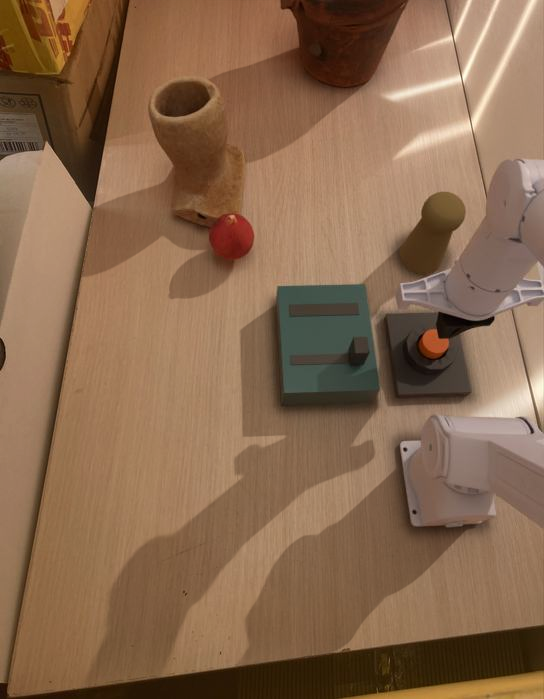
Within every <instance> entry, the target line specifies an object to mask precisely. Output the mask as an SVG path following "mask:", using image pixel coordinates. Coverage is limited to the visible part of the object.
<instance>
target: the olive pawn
mask: <svg viewBox="0 0 544 699" xmlns="http://www.w3.org/2000/svg"><path fill="white" fill-rule="evenodd" d="M466 213H467V211H466V204H465V203H464V202H463V200H462V199H461V197H459V195H457V194H455V193H453V192H451V191H439V192H438V191H437V192H435V193H433V194H431V195H429V196H428V198H427V199H426V200H424V202H423V205H422V208H421V213H420V216H421V218H419V221H418V222H417V224H415V226H414V228H413V229H412V230H411V231H410V233H409V235H408V236H407V237H406V239H405V241H404V242H403V243H402V244H401V246H400V249H399V259H400V260H401V263H402V264H403V266H405V268H406V269H408V270H409V271H411V272H412V273H415V274H418V275H430V274H434V273H435V272H436V271H439V269H440V268H441V267H442V265H443V263H444V259H445V256H446V254H447V251H448V247H449V245H450V241H451V238H452V235H453V233H454V232H455V231H457V230H458V229H459V228H460V227H461V225H462V224H463V222H465V217H466Z"/></svg>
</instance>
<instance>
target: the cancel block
mask: <svg viewBox="0 0 544 699" xmlns="http://www.w3.org/2000/svg"><path fill="white" fill-rule="evenodd" d="M437 318H438V312H407V313H406V312H404V313H386V314H385V315H384V317H383V321H384V327H385V333H386V340H387V341H386V342H387V347H388V353H389V360H390V367H391V374H392V380H393V387H394V394H395V398H396V399H404V398H405V399H407V398H431V397H433V398H434V397H435V398H437V397H463V396H464V397H465V396H466V397H467V396H470V394H472V387H471V383H470V377H469V372H468V367H467V363H466V359H465V354H464V349H463V345H462V340H461V335H460V334H459V335H457V336H455V337H453V338H450V339H448V340H449V346H448V348H447V350H446V351H445V352H444V353H443V355H442V356H441V357H439V358H436V359H430V358H427V357H425V356H424V355H423V354H422V353H421V352H420V350H419V347H418V344H419V341H420V339H421V337H422V336H423V335H424V333H425V332H426V331H428V330H431V329H437V328H436V322H437Z"/></svg>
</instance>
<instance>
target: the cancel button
mask: <svg viewBox="0 0 544 699" xmlns="http://www.w3.org/2000/svg"><path fill="white" fill-rule="evenodd" d="M448 346H449V340H448V339H439V338H438V333H437V329H431V330H428V331H426V332H425V333H424V335H423V336H422V337H421V339H420V341H419V344H418V347H419V350H420V352H421V353H422V354H423V355H424V356H425V357H427V358H430V359H436V358H439V357H441V356H442V355H443V353H444V352H445V351H446V350H447V348H448Z"/></svg>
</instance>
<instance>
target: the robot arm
mask: <svg viewBox="0 0 544 699" xmlns="http://www.w3.org/2000/svg"><path fill="white" fill-rule="evenodd" d="M453 263H454V265H453V267H451V268H448V269H445V270H443V271H442V270H441V272H437V273H433V274H431V275H429V276H426V277H423V278H420V279H417V280H414V281H410V282H400V283H399V284H398V286H397V288H396V291H395V300H396V306H397V310H400V311H401V310H402V311H403V310H408V309H409V308H410V306H412V305H413V306H416V307H417V306H419V307H422V308H424V309H429V310H432V311H436V312H437V313H438V318H437V322H436V328H437V333H438V338H439V339H450V338H453V337H455V336H457V335H460V334H463V333H464V332H467V331H469V330H473V329H475V328H481V327H490V326H491V325H492V324H493V323H494V322H495V318H496V316H497V315H500V314H503V313H505V312H508V311H510V310H513V309H516V308H518V307H521V306H523V305H527V306H528V307H538V306H539V305H541V303H542V302H543V301H544V283H543V280H542V279H529V278H525V277H526V276H527V275H528V274H529V272H530V271H531V270H532V269H533V267H535V266H536V265H537V264H538V263H539V264H540V265H541V266H542V267H543V268H544V159H537V158H515V159H510V158H509V159H505V160H502V162H500V163H499V165H497V168H496V169H495V171H494V173H493V175H492V177H491V180H490V183H489V186H488V190H487V194H486V202H485V216H484V218H483V219H482V220H481V222H480V223H479V225H478V227H477V229H476V230H475V231H474V233H473V235H472V236H471V237H470V239H469V241H468V243H467V244H466V246H465V247H464V249H463V251H462V252H461V253H460V256H458V257H456V258H455V260H454V262H453ZM422 426H423V427H422V429H421V434H420V435H421V436H420V440H403V441H401V442H400V443H399V452H400V458H401V459H400V460H401V465H402V471H403V478H404V486H405V494H406V500H407V506H408V514H409V520H410V524H411V525H412V526H413V527H417V528H418V527H436V526H437V527H439V526H445V527H444V528H459V527H463V526H464V525H477V524H478V525H479V524H481V523H483V522H484V521H487V520H490V519H493V518H496V517H497V509H496V504H495V495H496V496H497V497H499V499H501V500H503V501H504V502H505V503H506V504H508V505H509V506H511V507H512V508H514V509H515V510H516V511H518V512H519V513H521V514H522V515H523V516H525V517H526V518H527V519H529V520H530V521H532V522H533V523H534V524H536V525H537V526H539V527H540V528H541V529H543V530H544V432H542V431H541V430H540V428H539V427H538V425H537V424H536V422H535V421H534V420H533V419H531V418H530V417H527V416H515V417H493V416H466V415H465V416H463V415H461V416H459V415H442V414H441V413H433V414H431V415H430V416H429V417H428V418H427V419H426V421H425V422H424V424H423V425H422ZM404 449H405V450H406V451H405V450H404ZM413 511H414V512H415V514H414V513H413Z"/></svg>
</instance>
